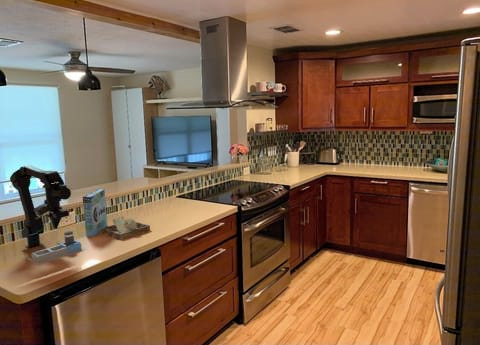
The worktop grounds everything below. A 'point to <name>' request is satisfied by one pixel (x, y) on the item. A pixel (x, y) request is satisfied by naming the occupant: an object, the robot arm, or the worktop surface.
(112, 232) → the cheese crate
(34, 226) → the robot arm
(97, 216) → the gum box
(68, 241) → the dark grey cylinder
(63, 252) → the narrow cubby shelf
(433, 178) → the worktop surface
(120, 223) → the pale green lump
